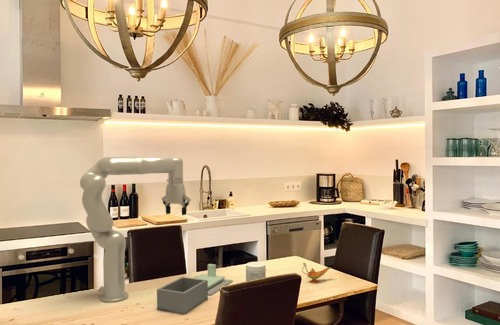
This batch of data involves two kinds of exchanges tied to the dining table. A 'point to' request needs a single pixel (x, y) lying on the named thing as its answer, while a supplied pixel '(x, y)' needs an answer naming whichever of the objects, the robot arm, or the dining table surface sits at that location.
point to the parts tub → (182, 295)
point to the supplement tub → (255, 271)
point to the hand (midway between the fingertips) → (176, 214)
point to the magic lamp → (315, 274)
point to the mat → (218, 286)
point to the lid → (211, 276)
